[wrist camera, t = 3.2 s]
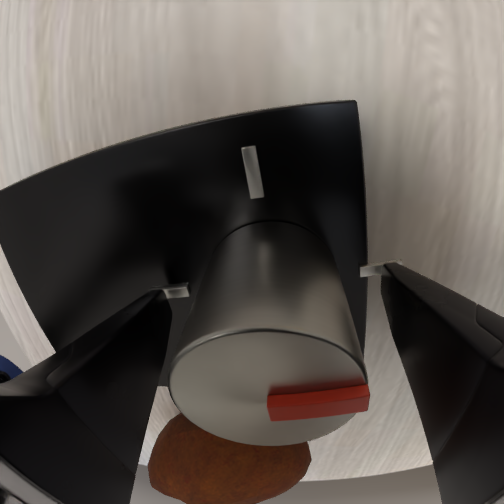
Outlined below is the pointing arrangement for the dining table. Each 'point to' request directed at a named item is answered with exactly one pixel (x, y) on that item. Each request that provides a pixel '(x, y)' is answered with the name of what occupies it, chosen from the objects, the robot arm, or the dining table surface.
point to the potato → (221, 466)
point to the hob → (184, 213)
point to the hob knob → (269, 342)
